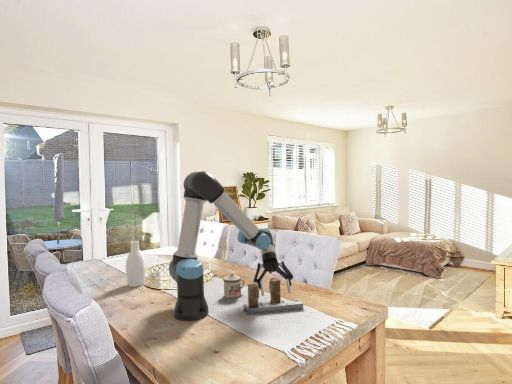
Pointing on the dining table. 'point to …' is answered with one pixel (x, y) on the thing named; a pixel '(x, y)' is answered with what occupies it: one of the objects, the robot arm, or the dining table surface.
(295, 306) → the rail
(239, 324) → the dining table surface
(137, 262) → the bottle
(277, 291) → the brown wooden upright block
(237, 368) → the dining table surface
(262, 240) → the robot arm
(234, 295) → the teacup with lid
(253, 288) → the post
